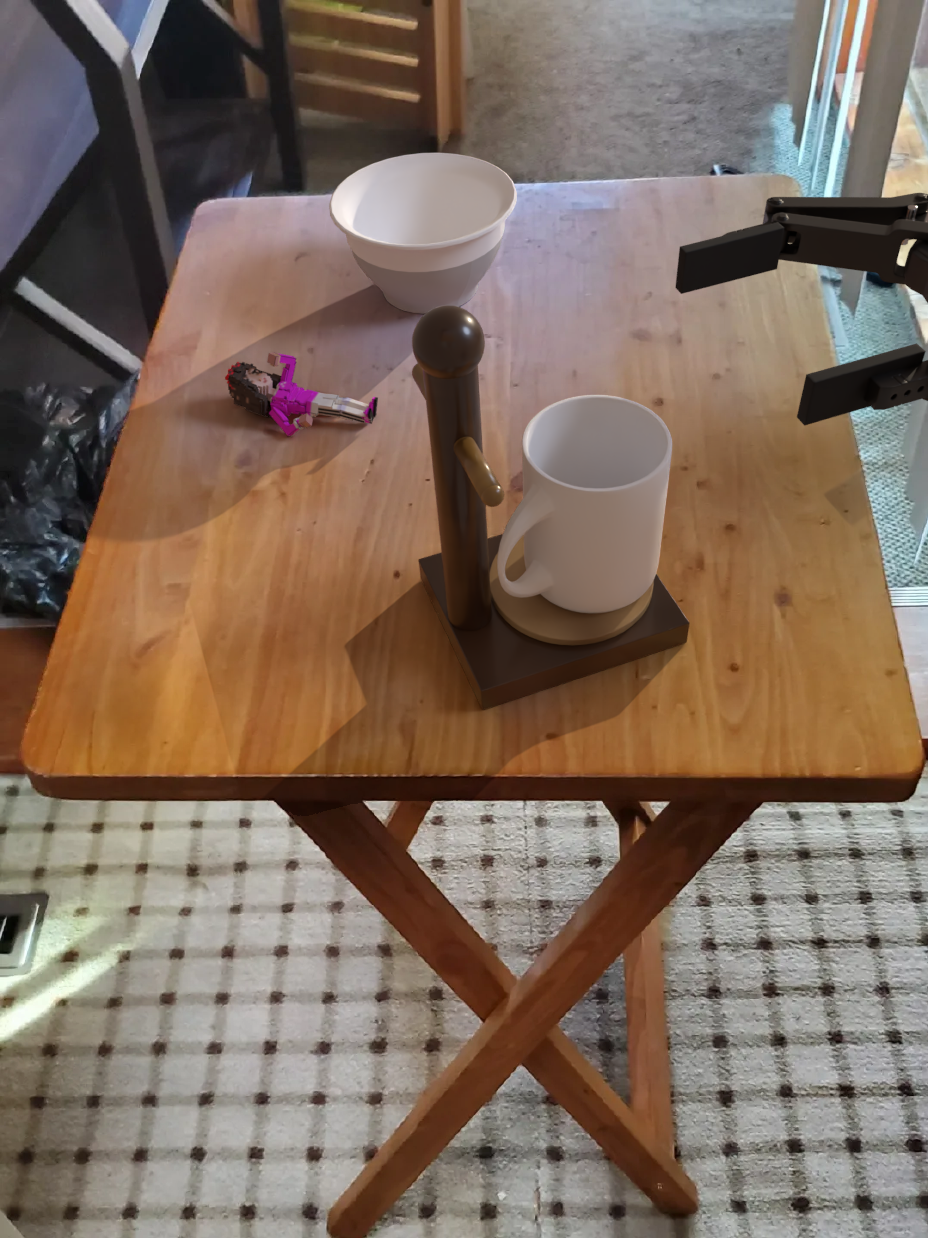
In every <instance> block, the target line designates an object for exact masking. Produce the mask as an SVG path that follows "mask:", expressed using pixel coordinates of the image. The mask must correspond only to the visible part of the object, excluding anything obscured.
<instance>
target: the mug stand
mask: <svg viewBox="0 0 928 1238" xmlns="http://www.w3.org/2000/svg"><path fill="white" fill-rule="evenodd" d="M411 339H412V340H411V348H412V353H413V356H414V358H415V360H416V364H415V365H414V366H413V367H412V369H411V377H412V379H413V381H414V382H415V385H416V386H417V388H418V390H419V391H420V393H421V395H422V397H423V398H424V400H425V406H426V415H427V425H428V435H429V446H430V453H431V462H432V464H431V465H432V474H433V475H432V476H433V483H434V494H435V503H436V504H435V505H436V513H437V522H438V523H437V524H438V532H439V543H440V551H441V552H438V553H434V554H432V555H428V556H424V557H421V558H418V560H417V561H418V567H419V568H418V569H419V576H420V580H421V583H422V585H423V587H424V589H425V591H426V593H427V595H428V597H429V600H430V602H431V604H432V606H433V608H434V610H435V613H436V615H437V617H438V619H439V621H440V623H441V625H442V627H443V629H444V632H445V633H446V635H447V639H448V640H449V642H450V644H451V646H452V648H453V651H454V653H455V656H456V657H457V659H458V662H459V663H460V666H461V668H462V670H463V672H464V674H465V676H466V678H467V681H468V682H469V685H470V687H471V689H472V691H473V693H474V695H475V697H476V700H477V701H478V704H479V706H480V708H481V710H482V711H485V710H487V709H490V708H493V707H496V706H499V705H503V704H505V703H509V702H512V701H515V700H518V699H520V698H524V697H527V696H530V695H532V694H536V693H539V692H542V691H544V690H548V689H551V688H554V687H557V686H560V685H563V684H566V683H569V682H572V681H575V680H578V679H582V678H583V677H587V676H590V675H593V674H596V673H599V672H602V671H605V670H608V669H611V668H615V667H617V666H620V665H623V664H626V663H629V662H633V661H636V660H639V659H641V658H645V657H647V656H651V655H653V654H656V653H660V652H662V651H665V650H668V649H671V648H674V647H677V646H680V645H683V644H686V643H687V642H688V637H689V630H690V621H689V619H688V618H687V617H686V615H685V613H684V612H683V611H682V609H681V608H680V606H679V605H678V603H677V601H676V600H675V598H674V597H673V596H672V594H671V593H670V592H669V591H670V590H668V588H667V587H666V585H665V584H664V582H663V581H662V579H661V578H660V577H659V575H658V574H657V573H656V575H655V578H654V580H653V582H652V584H651V586H650V587H649V589H648V590H647V591H646V592H645V593H644V594H643V595H642V596H641V597H640V598H639V599H637V600H636V601H635V602H633V603H631V604H630V605H628V606H626V607H623V608H621V609H618V610H615V611H610V612H605V613H580V612H575V611H571V610H567V609H564V608H562V607H559V606H557V605H555V604H553V603H552V602H550V601H548V600H547V599H546V598H544V597H543V596H542V595H541V594H538V595H535V596H531V597H523V598H521V597H514V596H512V595H509V594H508V593H507V592H506V591H505V590H504V589H503V588H502V586H501V584H500V581H499V576H498V569H497V559H498V550H499V545H500V541H501V538H502V535H503V533H501V534H498V535H495V536H491V537H488V520H487V506H488V507H491V508H495V507H498V506H500V505H501V504H502V503H503V501H504V499H505V491H504V488H503V487H502V485H501V483H500V482H499V479H498V478H497V476H496V474H495V473H494V471H493V469H492V468H491V466H490V465H489V463H488V461H487V459H486V457H485V456H484V451H483V450H484V449H483V433H482V432H483V431H482V430H483V429H482V415H481V398H480V397H481V394H480V378H479V377H480V376H479V375H480V374H479V364H480V362H481V360H482V358H483V355H484V353H485V352H484V351H485V347H486V341H485V334H484V330H483V327H482V325H481V324H480V321H478V319H477V317H475V315H473V314H472V313H471V312H470V311H468V310H467V309H466V308H463V307H461V306H459V307H458V306H452V305H444V306H439V307H436V308H433V309H432V310H430V311H428V312H427V313H426V314H423V315H422V316H421V318H419V319H418V321H417V323H416V325H415V327H414V329H413V332H412V338H411ZM525 571H526V566H525V560H524V535H523V536H522V537H521V538H520V539H519V541H518V542H517V543H516V544H515V546H514V547H513V549H512V550H511V552H510V554H509V556H508V559H507V561H506V566H505V575H506V578H507V579H508V580H509V581H511V582H513V581H516V580H517V579H519V578H520V577H521V576H522V575H523V574H524V572H525Z"/></svg>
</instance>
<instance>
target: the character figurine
mask: <svg viewBox="0 0 928 1238" xmlns="http://www.w3.org/2000/svg"><path fill="white" fill-rule="evenodd" d="M266 362H267V363H268V364H269V365H270V366H271V367H278V366H279V365H280V363H281V364H285V367H282V371H281V375H280V374H278V373H274V372H273V373H269V372H266V371H265V370H261V369H258V368H257V366H255V365H254V363H246V362H244V361H242V362H240V361H236V363H235V364H231V365H230V368H228V369H227V374H226V375H225V376H224V380H226V384H227V388H228V389H227V391H229V392H228V394H229V395H230V397H231V399H233V405H235V406H239V407H242V408H244V410H245V411H247V412H251V413H253V414H256V415H259V416H261V417H264V418H268V419H269V418H272V420H273V421H274V422H275V423H276V424H277V426H278V427H279V428H280V429H281V431H283V433H284V434H285V435H286V436H287V437H291V436H293V435H294V434H296V433H297V432H298V431H301V430H304V429H308V428H310V427H312V426H313V421H314V418H316V417H318V416H319V415H320V416H325V417H326V416H327V417H332V418H338V419H339V418H340V419H344V420H346V421H351V422H353V421H356V422H359V423H363V424H364V423H367V424H371V425H372V424H373V421H374V418H376V416H377V413H378V402H379V397H377V396H373V397H372V398H371V400H370V401H369V403H366V402H364V401H363V402H362V401H360V400H357V399H353V398H351V397H342V396H340V395H339V394H333V393H325V392H324V393H323V392H319V391H316V390H312V389H305V388H304V387H302V386H298V383H297V382H293V379H294V374H295V371H296V366H297V357H296V356H293V355H289V354H284V353H278V352H277V351H273V352H268V356H267V360H266ZM292 414H294V415H300V416H299V417H296V418H293V420H292V421H293V422H292V423H290V422H289V421H290V419H289V418H288V417H290V416H291V415H292Z"/></svg>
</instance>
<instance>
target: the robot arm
mask: <svg viewBox="0 0 928 1238" xmlns="http://www.w3.org/2000/svg"><path fill="white" fill-rule="evenodd" d="M913 240H915V241H914V242H913V244H912V245H911V247H910V248H909V250H908V252H907V256H906V260H905V263H904V265H900V264H898V263H897V262H898V258H899V254H900V251H901V247H902V246H906V245H908V243H909V241H913ZM779 260H780V261H786V262H794V263H800V264H807V265H814V266H815V265H816V266H822V267H829V268H835V269H837V268H838V269H844V270H851V271H858V272H859V271H860V272H867V273H874V274H877V275H878V276H879V278H880V280H881V281H882V282H885V283H890V284H899V285H904V286H906V287H907V288H909V289H910V290H911V291H913V292H915V293H917V294H919V295H921V296H922V297H923V299H924V300H925V302H926V303H927V304H928V193H925V192H914V193H908V194H903V195H896V196H891V197H887V196H885V197H880V196H872V197H871V196H867V197H865V196H864V197H863V196H853V197H852V196H772V197H768V198H767V199H766V201H765V207H764V214H763V219H762V223H760V224H756V225H753V226H749V227H745V228H740V229H737V230H732V231H728V232H726V233H724V234H723V235H719V236H717V237H712V238H709V239H705V240H700V241H697V242H692V243H689V244H684V245H680V246H679V250H678V259H677V268H676V269H677V270H676V277H675V278H676V279H675V290H677V291H678V292H679V293H680V294H681V295H682V294H687V293H691V292H695V291H699V290H702V289H705V288H709V287H710V288H711V287H713V286H717V285H721V284H725V283H729V282H734V281H736V280H741V279H744V278H748V277H752V276H756V275H759V274H764V273H768V272H772V271H775V270H777V269H778V266H779ZM925 354H926V350H925V349H924V348H923V347H922V346H921V345H919V344H918V343H914V344H909V345H906V346H903V347H899V348H895V349H892V350H888V351H883V352H881V353H878V354H873V355H871V356H867V357H863V358H860V359H857V360H853V361H850V362H845V363H842V364H838V365H834V366H832V367H828V368H824V369H820V370H818V371H814V372H811V373H806V374H805V379H804V383H803V386H802V387H803V388H802V391H801V396H800V401H799V406H798V410H797V414H796V419H798V421H799V422H800V423H801V424H802V425H803V426H804V427H805V426H808V425H812V424H815V423H818V422H821V421H825V420H829V419H832V418H835V417H839V416H842V415H845V414H849V413H853V412H856V411H860V410H862V409H867V408H870V407H871V409H872V410H874V411H883V410H888V409H892V408H894V407H899V406H901V405H905V404H909V403H912V402H913V403H914V402H915V401H920V400H923V401H926V402H928V359H927V360H924V358H925Z"/></svg>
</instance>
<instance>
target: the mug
mask: <svg viewBox="0 0 928 1238" xmlns="http://www.w3.org/2000/svg"><path fill="white" fill-rule="evenodd" d="M672 454H673V438H672V435H671V432H670V430H669V427H668V426H667V424H666V423H665V421H664V420H663V419H662V418H661V417H660V415H658V414H657V413H655V412H654V411H653V410H652V409H651V408H648V407H646V406H645V405H643V404H641V403H639V402H637V401H634V400H631V399H628V398H625V397H620V396H615V395H609V394H608V395H607V394H584V395H577V396H572V397H568V398H565V399H561V400H558V401H557V402H554V403H551V404H549V405H547V406H546V407H544V408H543V409H541V410H540V411H539V412H537V413H536V414H535V415H534V416H533V417H532V418H531V420H530V421H529V422H528V424H527V425H526V427H525V429H524V431H523V434H522V439H521V465H522V466H521V467H522V471H521V472H522V473H521V475H522V499H521V501H520V502H519V504H518V505H517V506H516V508H515V510H514V511H513V513H512V514H511V516H510V518H509V520H508V522H507V524H506V526H505V528H504V531H503V532H502V534H503V535H502V538H501V541H500V545H499V550H498V559H497V569H498V576H499V581H500V584H501V586H502V588H503V589H504V590H505V591H506V592H507V593H508V594H509V595H512V596H514V597H521V598H523V597H531V596H535V595H538V594H541V595H542V596H543V597H544V598H546V599H547V600H548V601H550V602H552V603H553V604H555V605H557V606H559V607H562V608H564V609H567V610H571V611H575V612H580V613H605V612H610V611H615V610H618V609H621V608H623V607H626V606H628V605H630V604H631V603H633V602H635V601H636V600H637V599H639V598H640V597H641V596H642V595H643V594H644V593H645V592H646V591H647V590H648V589H649V587H650V586H651V584H652V582H653V580H654V578H655V575H656V574H657V572H658V569H659V564H660V558H661V557H660V556H661V547H662V540H663V539H662V538H663V531H664V523H665V522H664V521H665V515H666V514H665V513H666V506H667V505H666V504H667V496H668V488H669V479H670V473H671V472H670V471H671V470H670V469H671V463H672V462H671V461H672ZM523 535H524V560H525V566H526V571H525V572H524V574H523V575H522V576H521V577H520V578H519V579H517V580H516V581H513V582H511V581H509V580H508V579H507V578H506V575H505V566H506V561H507V559H508V556H509V554H510V552H511V550H512V549H513V547H514V546H515V544H516V543H517V542H518V541H519V539H520V538H521V537H522V536H523Z"/></svg>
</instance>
